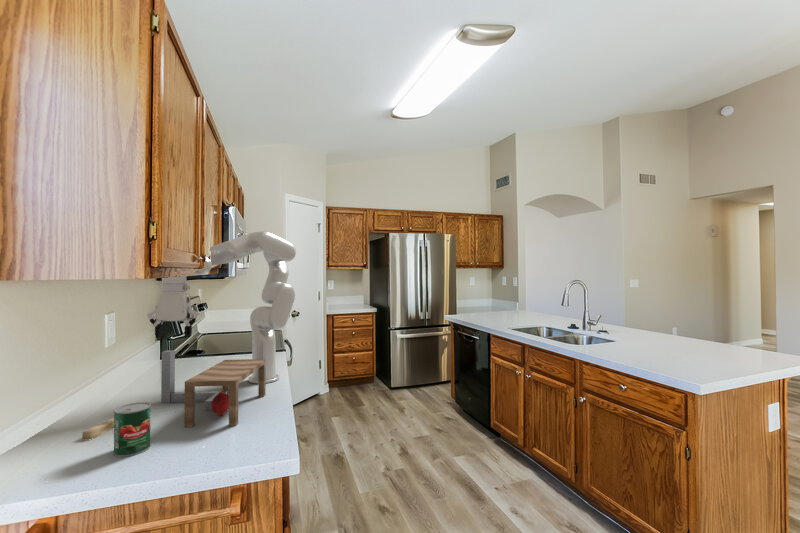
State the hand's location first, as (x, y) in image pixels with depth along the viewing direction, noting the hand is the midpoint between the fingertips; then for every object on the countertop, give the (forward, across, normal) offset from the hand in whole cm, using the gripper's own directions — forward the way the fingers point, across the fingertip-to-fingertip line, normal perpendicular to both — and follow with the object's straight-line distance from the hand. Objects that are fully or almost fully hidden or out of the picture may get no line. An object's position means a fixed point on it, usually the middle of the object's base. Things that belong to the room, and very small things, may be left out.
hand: (173, 337), depth 133 cm
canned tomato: (+24, -8, +36) cm, 44 cm away
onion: (+24, -22, +13) cm, 34 cm away
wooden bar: (+24, +8, +21) cm, 33 cm away
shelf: (+23, -22, +8) cm, 33 cm away
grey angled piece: (+23, -6, +2) cm, 24 cm away
